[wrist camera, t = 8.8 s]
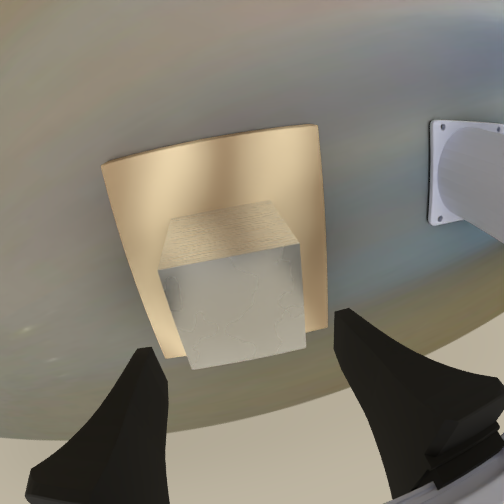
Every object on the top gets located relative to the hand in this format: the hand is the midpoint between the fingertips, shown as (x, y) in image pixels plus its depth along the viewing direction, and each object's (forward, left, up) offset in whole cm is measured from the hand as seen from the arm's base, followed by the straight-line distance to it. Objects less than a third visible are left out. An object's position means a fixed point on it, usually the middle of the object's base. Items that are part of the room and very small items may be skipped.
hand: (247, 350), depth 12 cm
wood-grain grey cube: (0, 0, -8) cm, 8 cm away
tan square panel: (0, 0, -9) cm, 9 cm away
